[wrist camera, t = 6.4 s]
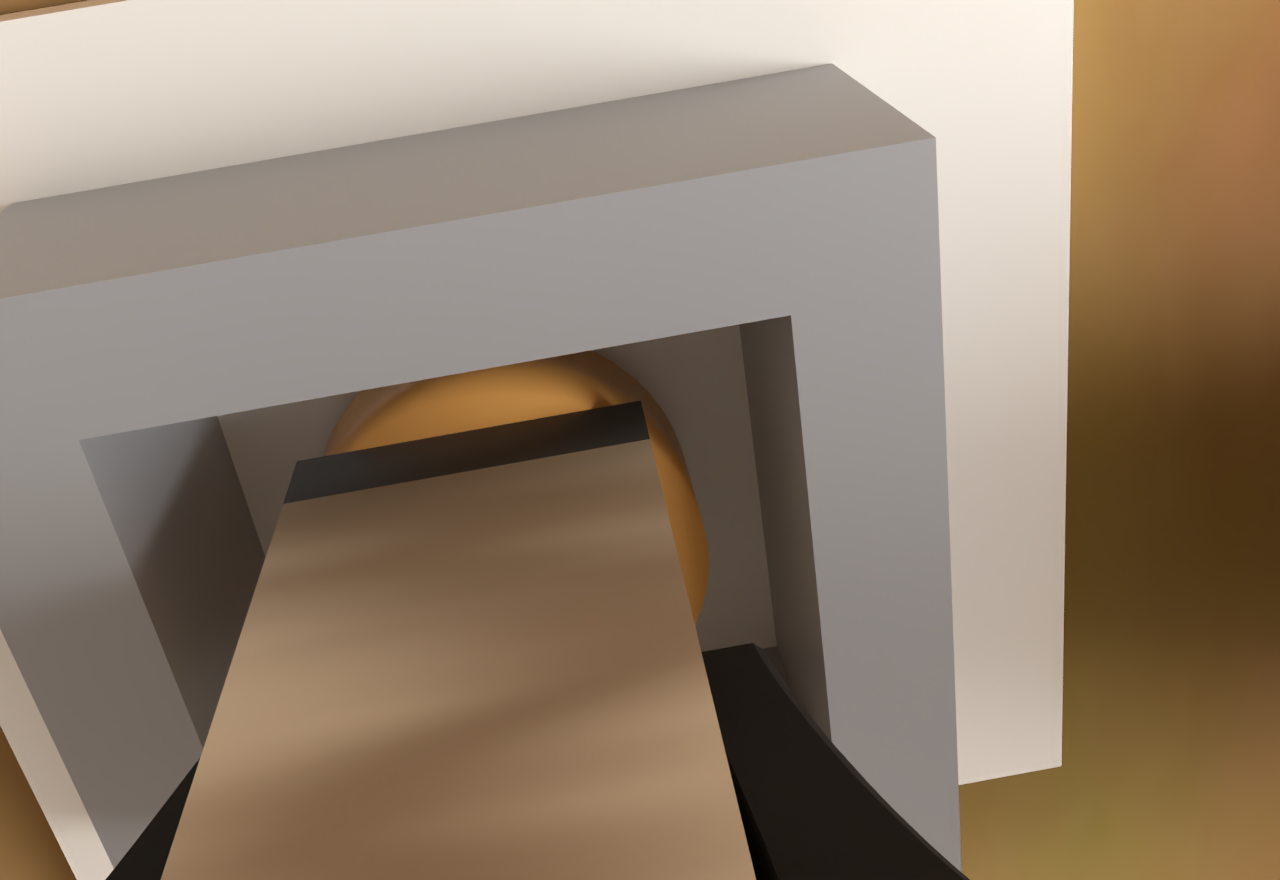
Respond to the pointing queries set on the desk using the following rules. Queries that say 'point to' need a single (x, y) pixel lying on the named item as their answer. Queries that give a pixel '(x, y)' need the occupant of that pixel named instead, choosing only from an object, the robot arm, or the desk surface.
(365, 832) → the brown wooden block
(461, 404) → the button
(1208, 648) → the desk surface
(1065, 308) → the socket base plate
